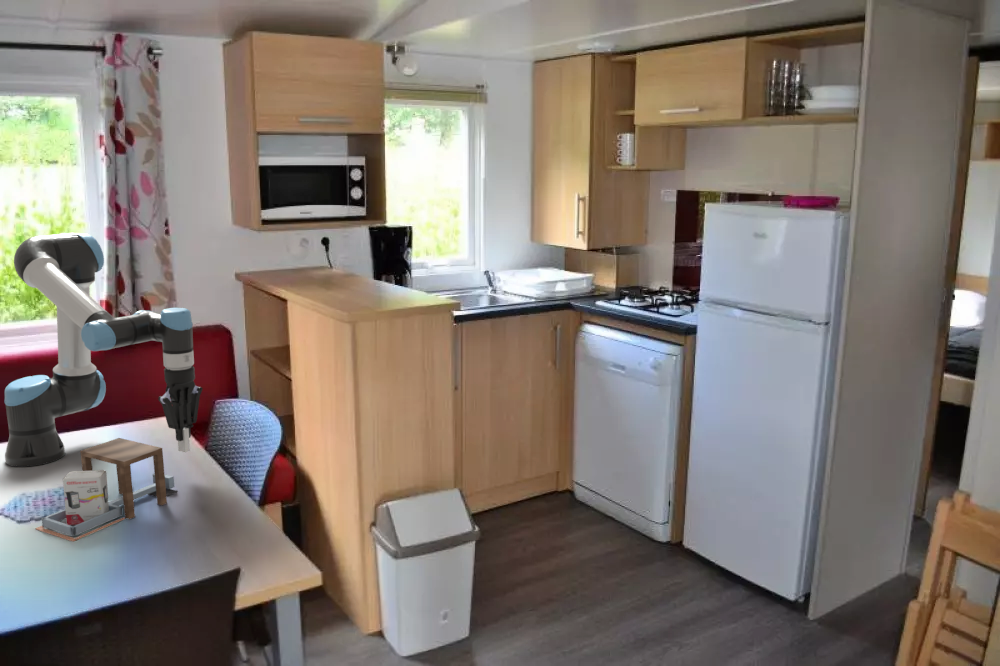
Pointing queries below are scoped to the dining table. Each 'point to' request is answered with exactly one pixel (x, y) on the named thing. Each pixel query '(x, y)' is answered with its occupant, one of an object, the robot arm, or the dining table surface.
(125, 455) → the tunnel frame
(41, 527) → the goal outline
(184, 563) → the dining table surface
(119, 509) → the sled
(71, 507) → the ink box
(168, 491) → the pad
